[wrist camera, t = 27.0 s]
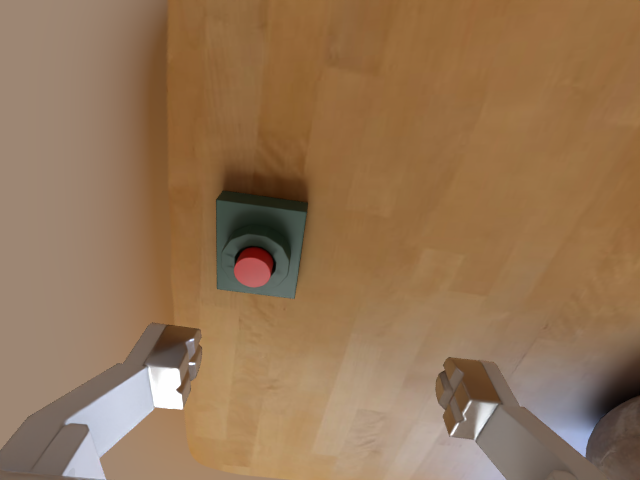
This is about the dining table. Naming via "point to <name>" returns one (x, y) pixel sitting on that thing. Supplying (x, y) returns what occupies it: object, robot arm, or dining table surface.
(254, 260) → the button
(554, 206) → the dining table surface
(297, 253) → the button box
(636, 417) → the clay pot
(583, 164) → the dining table surface
